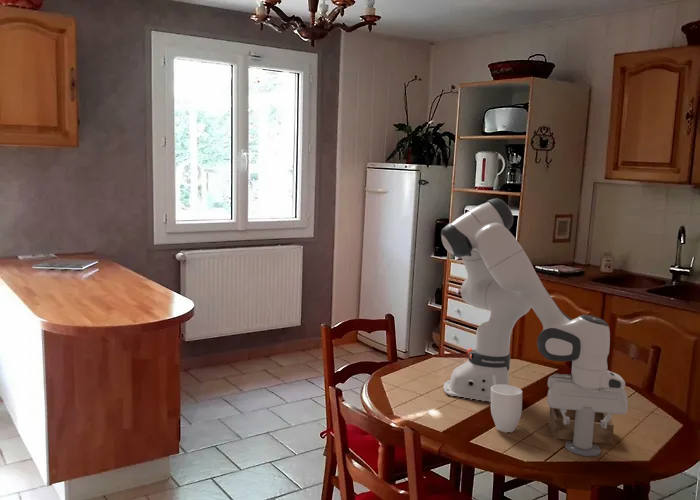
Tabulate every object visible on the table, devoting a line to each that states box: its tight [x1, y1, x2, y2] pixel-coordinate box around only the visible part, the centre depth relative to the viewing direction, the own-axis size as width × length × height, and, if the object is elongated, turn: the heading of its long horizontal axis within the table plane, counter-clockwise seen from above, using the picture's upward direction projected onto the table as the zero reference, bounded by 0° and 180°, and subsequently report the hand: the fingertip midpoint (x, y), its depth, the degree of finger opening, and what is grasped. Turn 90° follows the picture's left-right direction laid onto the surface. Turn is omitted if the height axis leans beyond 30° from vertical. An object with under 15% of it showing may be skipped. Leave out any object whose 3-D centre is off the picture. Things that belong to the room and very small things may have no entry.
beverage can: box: [573, 406, 595, 450], centre depth 169 cm, size 5×5×12 cm
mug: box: [490, 384, 523, 433], centre depth 182 cm, size 12×9×12 cm
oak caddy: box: [548, 406, 615, 445], centre depth 180 cm, size 16×11×6 cm
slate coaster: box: [564, 440, 602, 458], centre depth 170 cm, size 9×9×1 cm
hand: (584, 425), depth 169 cm, fingers open, 8 cm apart
